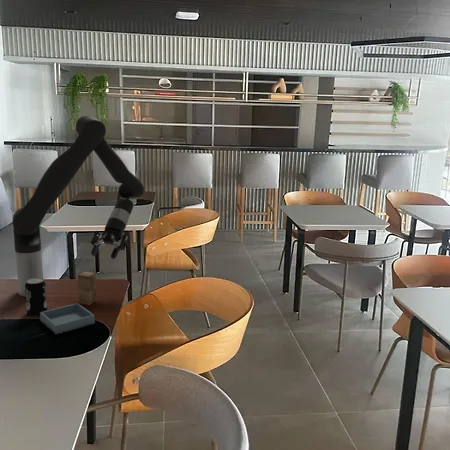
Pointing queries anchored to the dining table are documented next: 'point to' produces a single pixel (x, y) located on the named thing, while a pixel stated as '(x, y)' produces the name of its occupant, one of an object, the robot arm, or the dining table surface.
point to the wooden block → (87, 288)
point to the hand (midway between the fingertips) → (102, 256)
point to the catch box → (67, 318)
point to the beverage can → (35, 296)
